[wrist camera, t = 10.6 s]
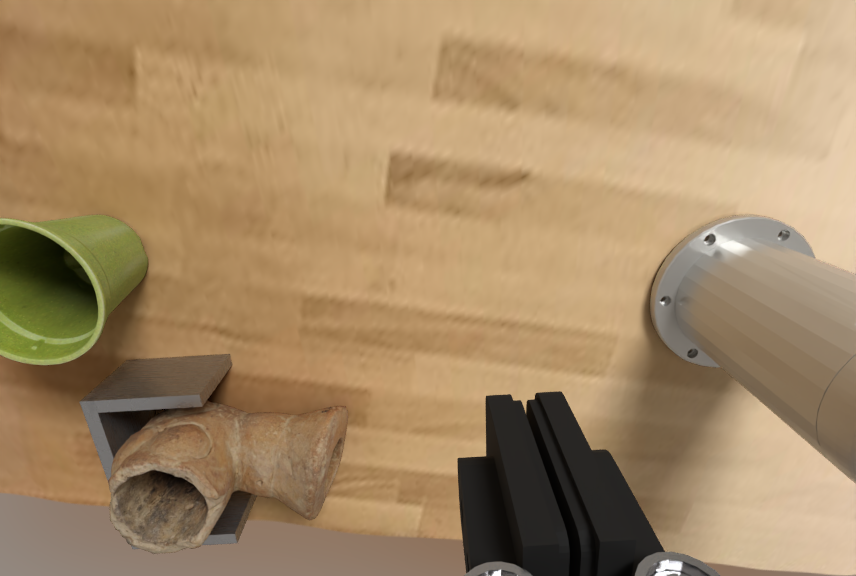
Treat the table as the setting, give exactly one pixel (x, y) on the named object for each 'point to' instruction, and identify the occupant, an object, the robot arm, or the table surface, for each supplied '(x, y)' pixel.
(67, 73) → the table surface
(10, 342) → the plant pot
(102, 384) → the gray channel bracket
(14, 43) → the table surface
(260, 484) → the pipe
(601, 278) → the table surface
